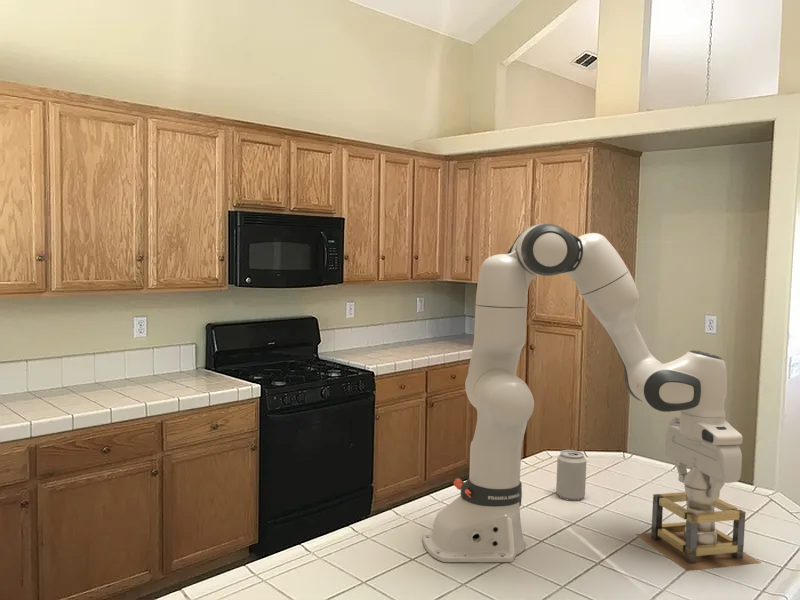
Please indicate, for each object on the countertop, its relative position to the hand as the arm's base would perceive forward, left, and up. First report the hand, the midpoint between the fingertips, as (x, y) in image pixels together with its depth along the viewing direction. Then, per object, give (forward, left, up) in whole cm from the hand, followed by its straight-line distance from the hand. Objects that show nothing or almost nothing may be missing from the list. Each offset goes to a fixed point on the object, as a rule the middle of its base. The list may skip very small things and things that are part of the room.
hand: (698, 489), depth 144 cm
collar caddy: (0, 0, -13) cm, 13 cm away
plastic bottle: (0, -2, -13) cm, 13 cm away
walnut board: (0, 0, -14) cm, 14 cm away
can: (-10, +37, -14) cm, 41 cm away
